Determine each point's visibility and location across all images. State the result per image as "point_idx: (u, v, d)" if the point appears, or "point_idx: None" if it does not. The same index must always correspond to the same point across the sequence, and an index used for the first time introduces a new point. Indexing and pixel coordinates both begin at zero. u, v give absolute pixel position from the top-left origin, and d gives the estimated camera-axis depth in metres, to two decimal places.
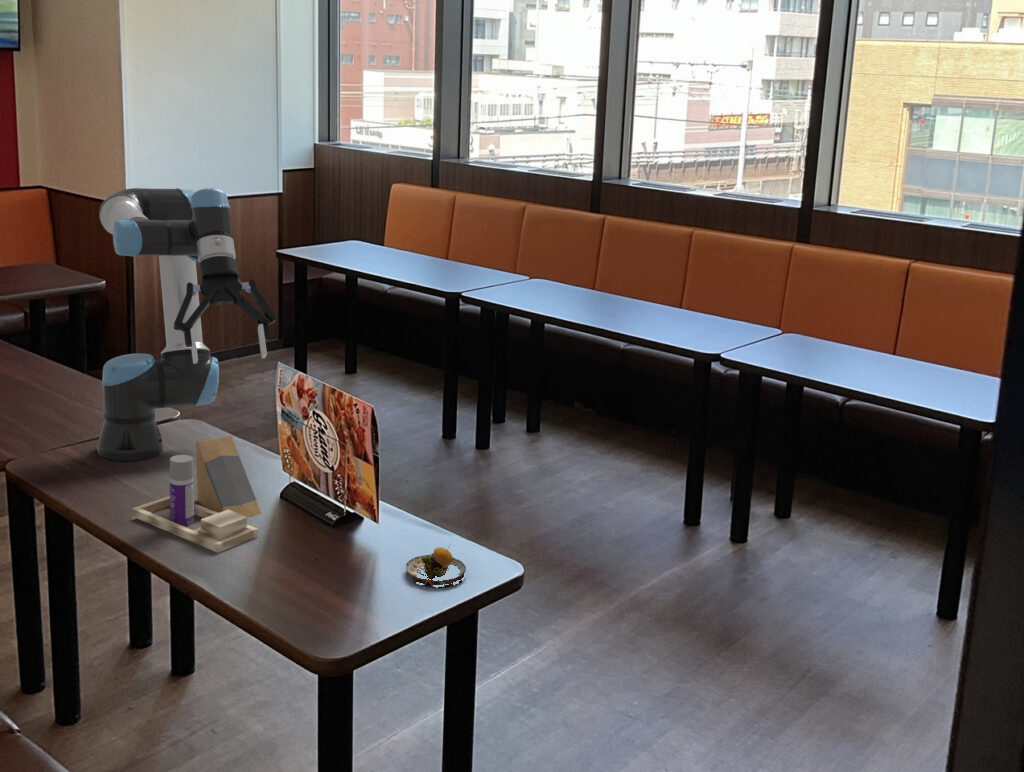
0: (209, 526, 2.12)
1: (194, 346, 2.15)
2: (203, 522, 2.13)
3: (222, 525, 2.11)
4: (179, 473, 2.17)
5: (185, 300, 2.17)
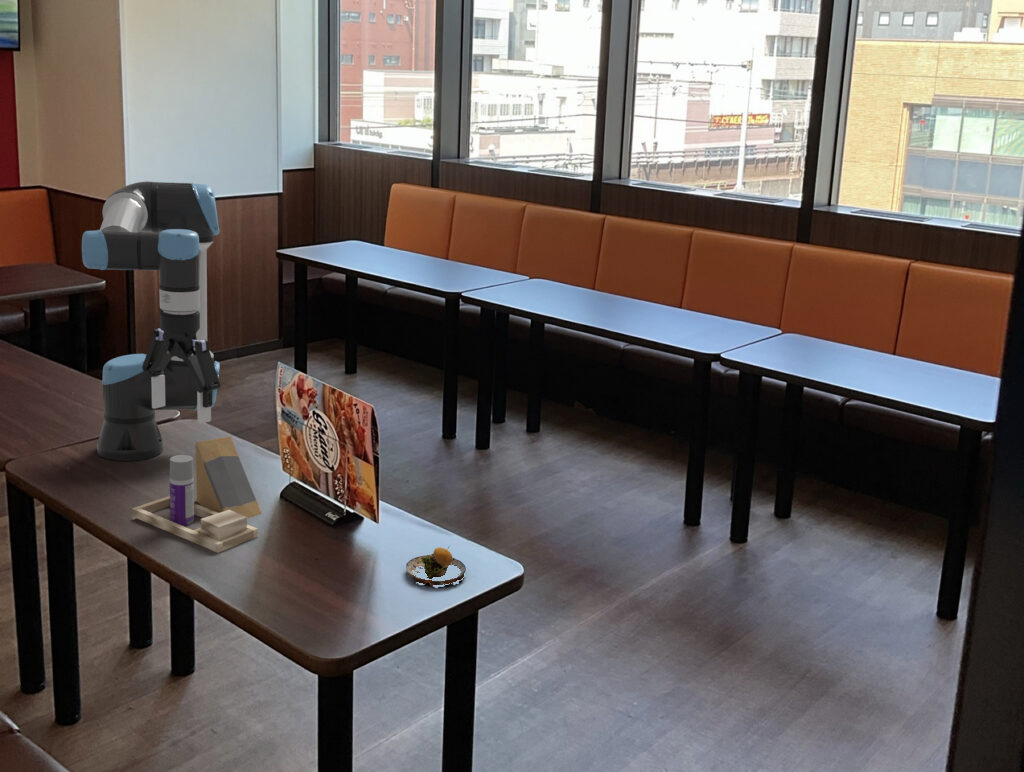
0: (208, 525, 2.12)
1: (152, 395, 2.17)
2: (203, 522, 2.13)
3: (221, 525, 2.11)
4: (179, 473, 2.17)
5: (150, 347, 2.15)
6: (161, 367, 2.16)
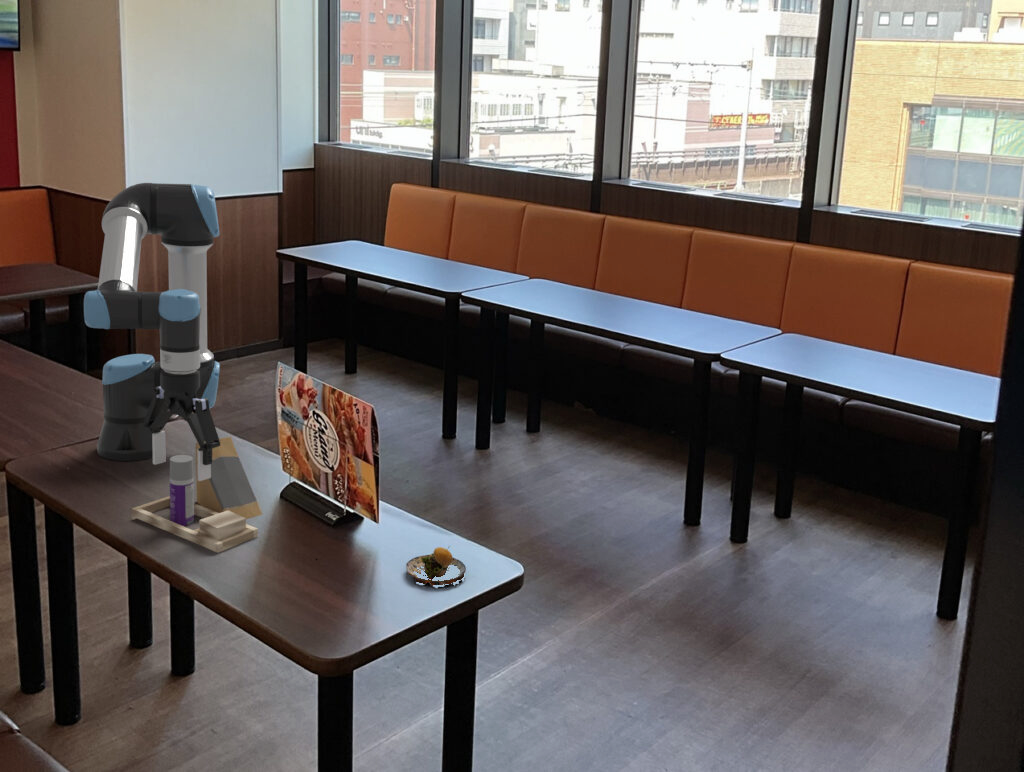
0: (207, 526, 2.12)
1: (153, 451, 2.20)
2: (202, 523, 2.12)
3: (220, 526, 2.10)
4: (179, 473, 2.17)
5: (151, 404, 2.18)
6: (162, 424, 2.19)
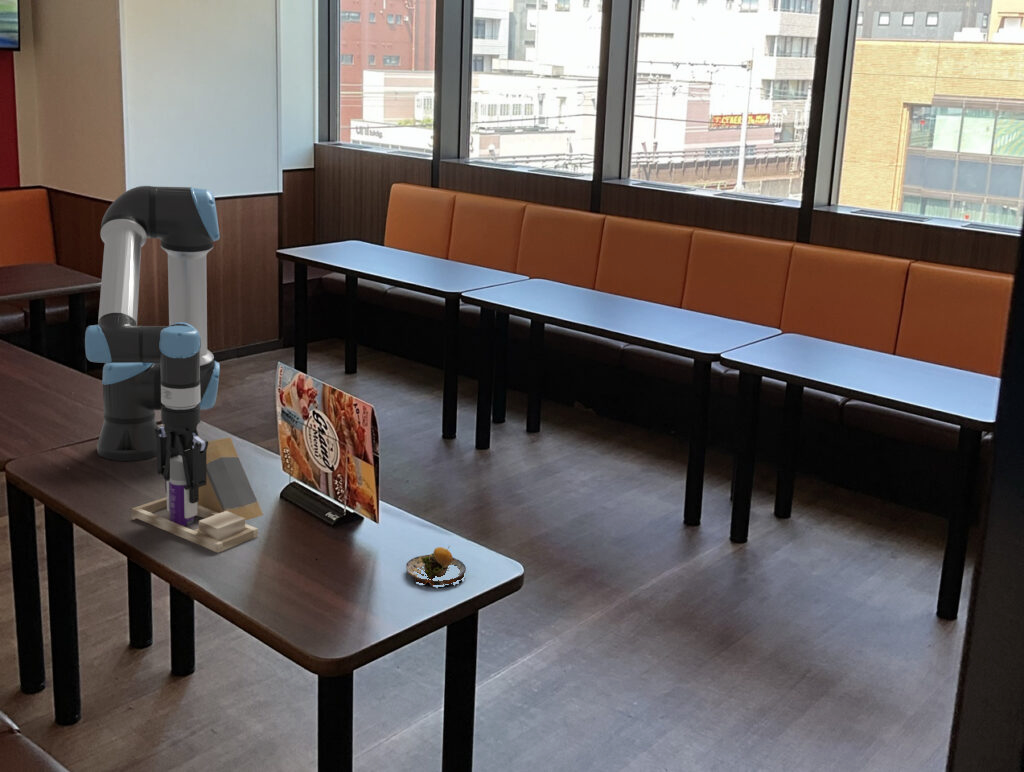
0: (207, 527, 2.11)
1: (167, 498, 2.21)
2: (201, 523, 2.12)
3: (220, 527, 2.10)
4: (179, 473, 2.17)
5: (157, 447, 2.20)
6: None
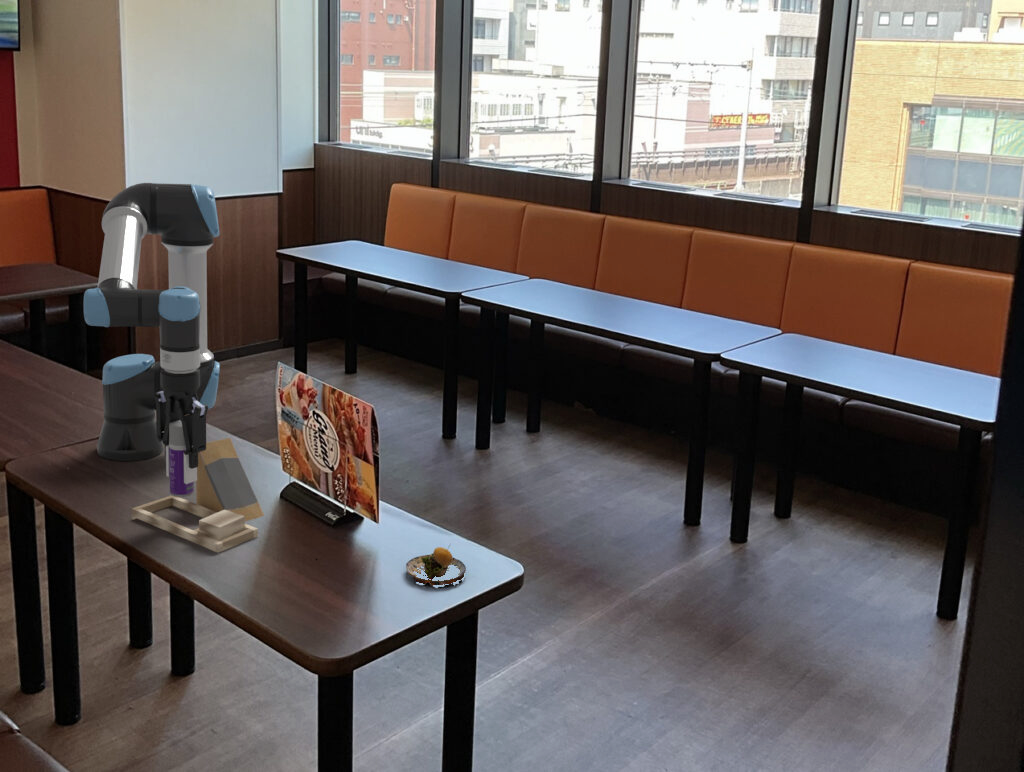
0: (208, 526, 2.12)
1: (167, 464, 2.19)
2: (202, 523, 2.12)
3: (221, 525, 2.11)
4: (178, 438, 2.15)
5: (157, 412, 2.18)
6: None
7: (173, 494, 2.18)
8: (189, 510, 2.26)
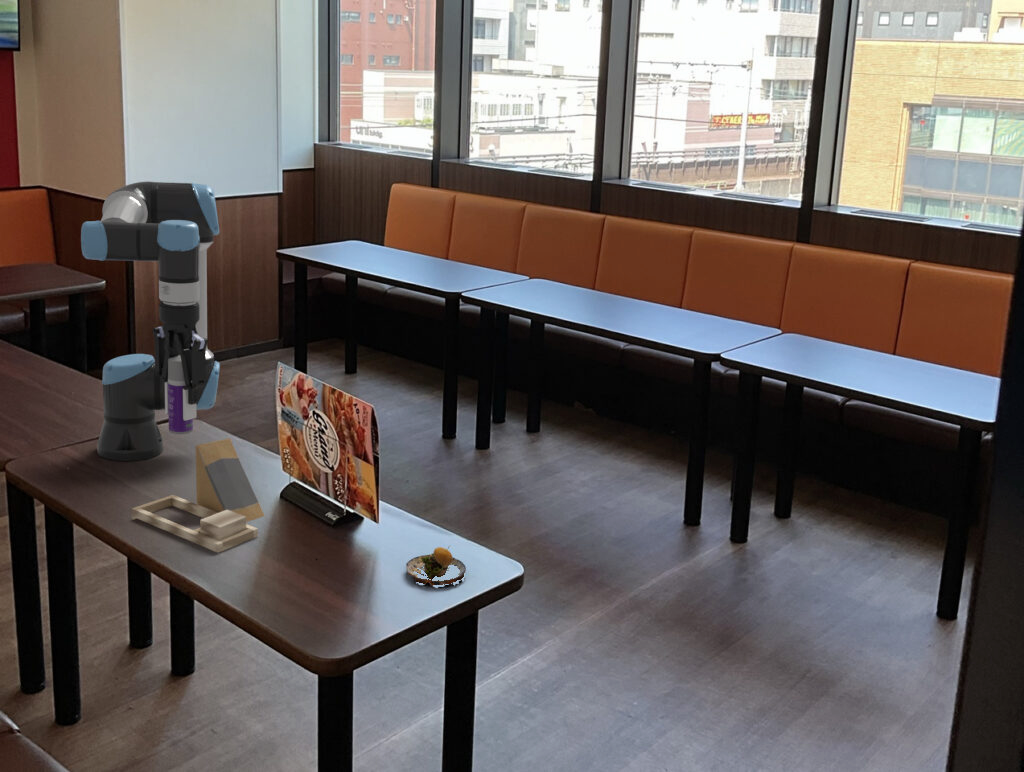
0: (209, 526, 2.12)
1: (166, 401, 2.15)
2: (203, 522, 2.13)
3: (222, 525, 2.11)
4: (177, 373, 2.11)
5: (155, 348, 2.14)
6: None
7: (172, 431, 2.15)
8: (189, 510, 2.26)
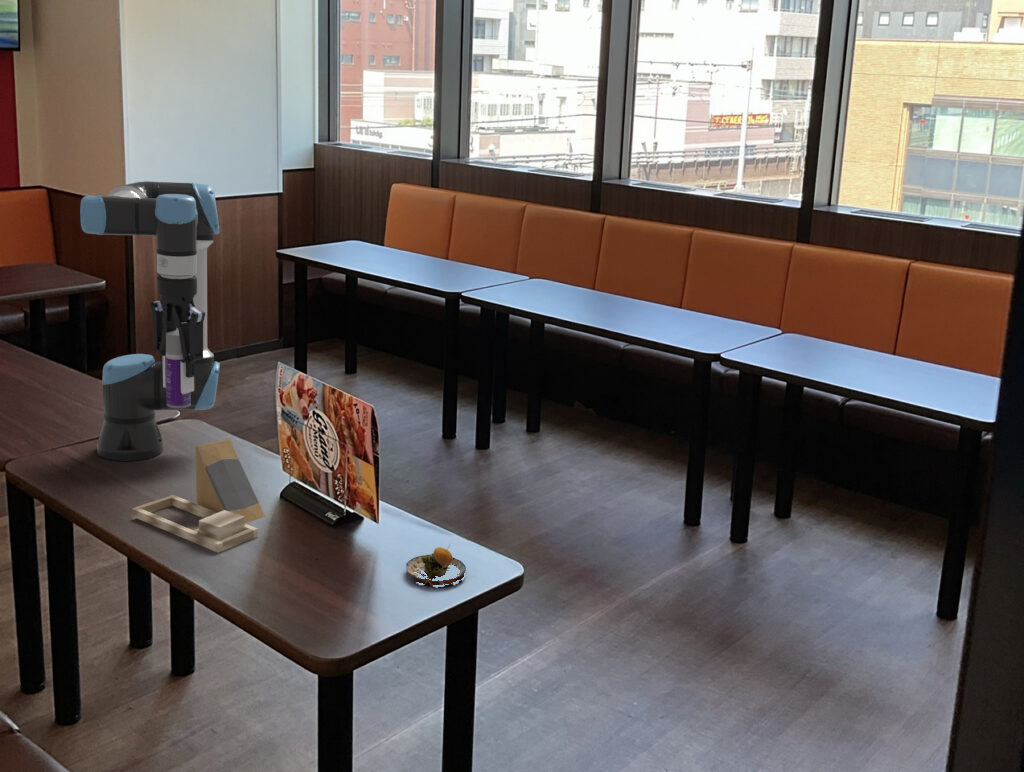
0: (208, 526, 2.12)
1: (164, 374, 2.17)
2: (202, 523, 2.12)
3: (221, 525, 2.11)
4: (175, 347, 2.13)
5: (153, 321, 2.16)
6: None
7: (170, 405, 2.16)
8: (189, 510, 2.26)
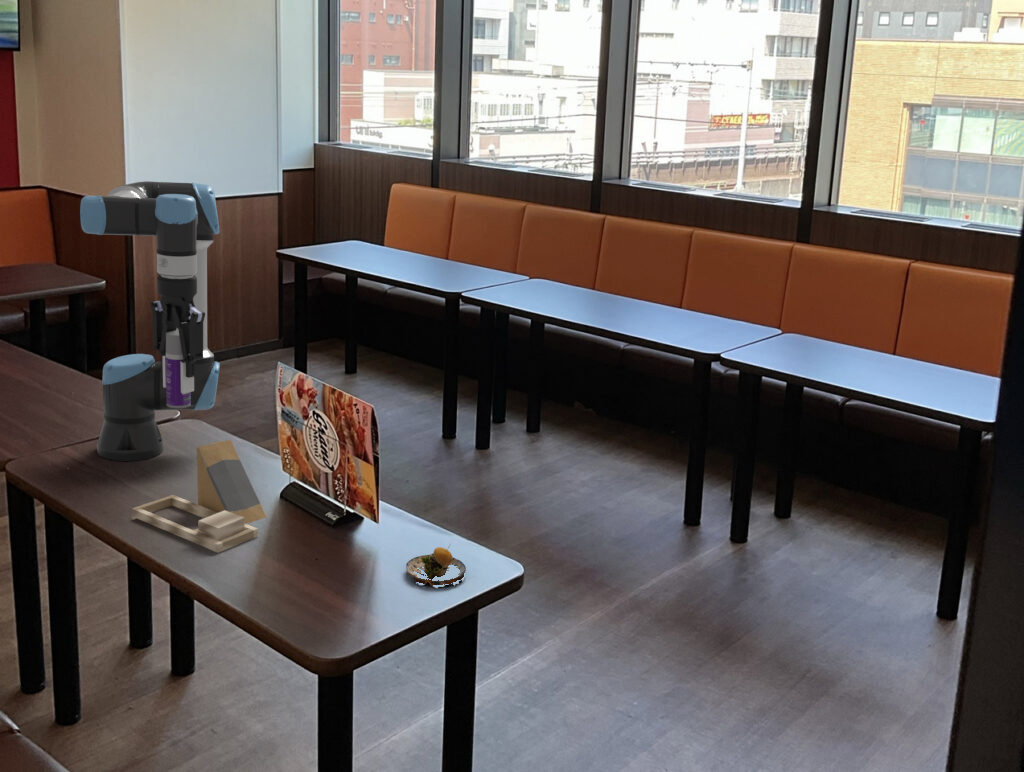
0: (207, 527, 2.11)
1: (164, 374, 2.17)
2: (201, 523, 2.12)
3: (220, 526, 2.11)
4: (175, 347, 2.13)
5: (153, 321, 2.16)
6: None
7: (170, 405, 2.16)
8: (189, 510, 2.26)
